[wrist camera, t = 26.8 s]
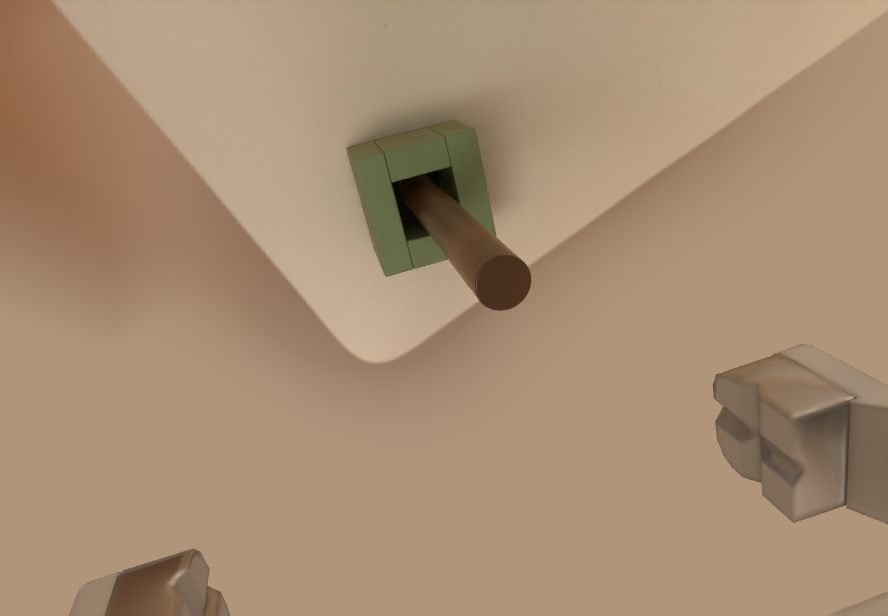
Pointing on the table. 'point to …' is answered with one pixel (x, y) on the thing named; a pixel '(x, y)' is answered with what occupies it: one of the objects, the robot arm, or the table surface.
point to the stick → (468, 245)
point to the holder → (408, 157)
